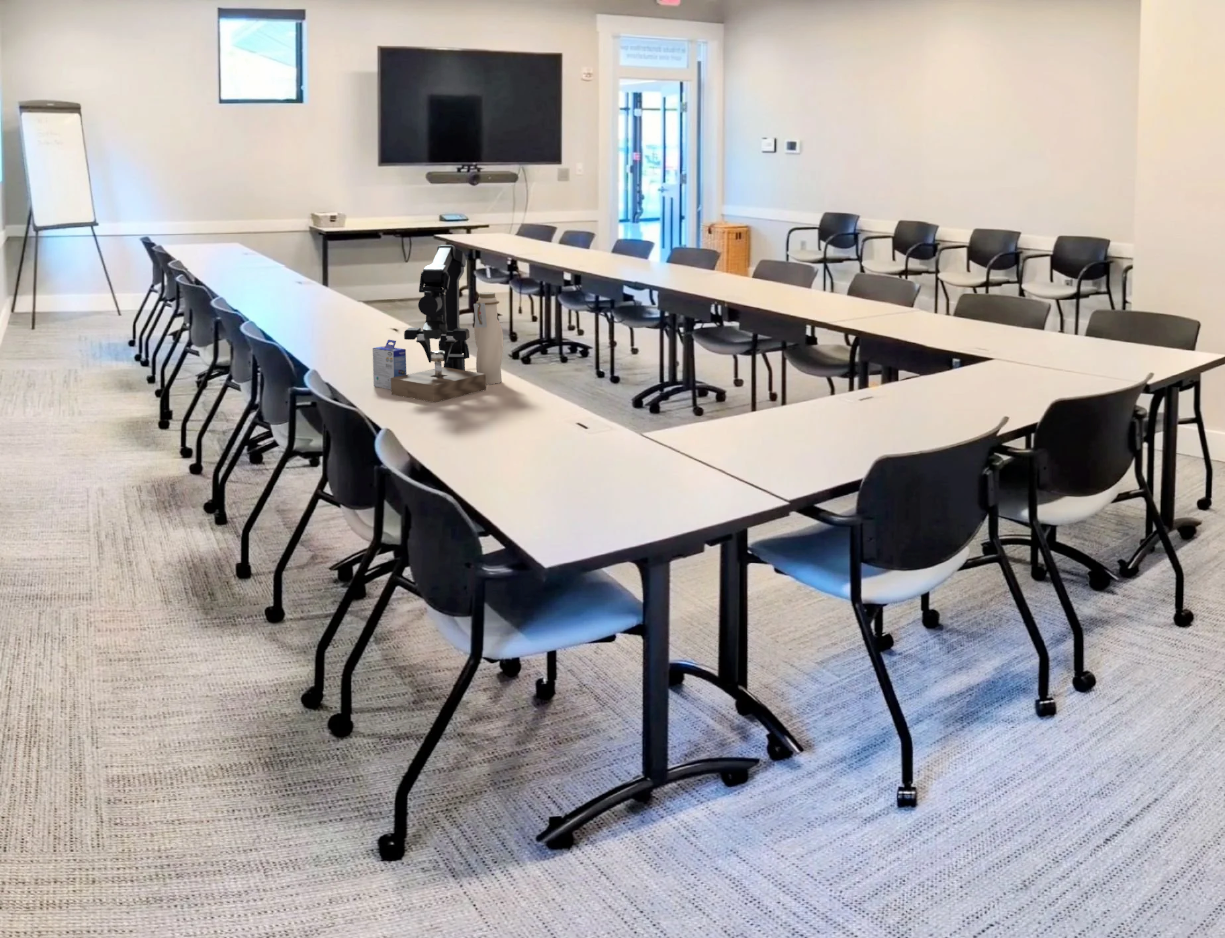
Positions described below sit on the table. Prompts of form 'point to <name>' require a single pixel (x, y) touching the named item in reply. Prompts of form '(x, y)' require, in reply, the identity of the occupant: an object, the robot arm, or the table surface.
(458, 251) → the robot arm
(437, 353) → the plunger
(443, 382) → the press block
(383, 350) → the ink cartridge box
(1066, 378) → the table surface
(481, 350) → the water bottle
